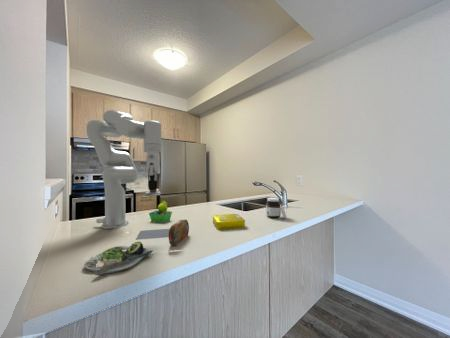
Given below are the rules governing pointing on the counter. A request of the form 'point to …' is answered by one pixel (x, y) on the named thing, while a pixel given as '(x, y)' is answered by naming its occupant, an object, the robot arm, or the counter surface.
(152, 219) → the fruit basket
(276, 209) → the spread jar
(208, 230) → the counter surface
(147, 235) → the mat
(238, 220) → the element tile
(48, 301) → the counter surface
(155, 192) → the wood block on base
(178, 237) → the tin
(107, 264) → the salad plate
